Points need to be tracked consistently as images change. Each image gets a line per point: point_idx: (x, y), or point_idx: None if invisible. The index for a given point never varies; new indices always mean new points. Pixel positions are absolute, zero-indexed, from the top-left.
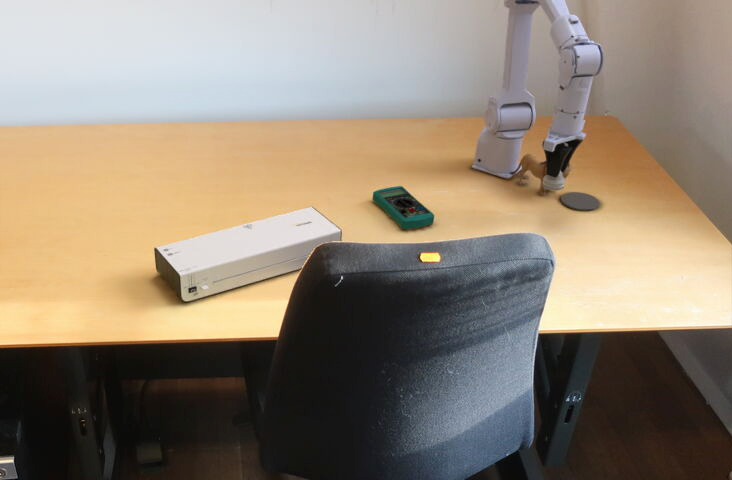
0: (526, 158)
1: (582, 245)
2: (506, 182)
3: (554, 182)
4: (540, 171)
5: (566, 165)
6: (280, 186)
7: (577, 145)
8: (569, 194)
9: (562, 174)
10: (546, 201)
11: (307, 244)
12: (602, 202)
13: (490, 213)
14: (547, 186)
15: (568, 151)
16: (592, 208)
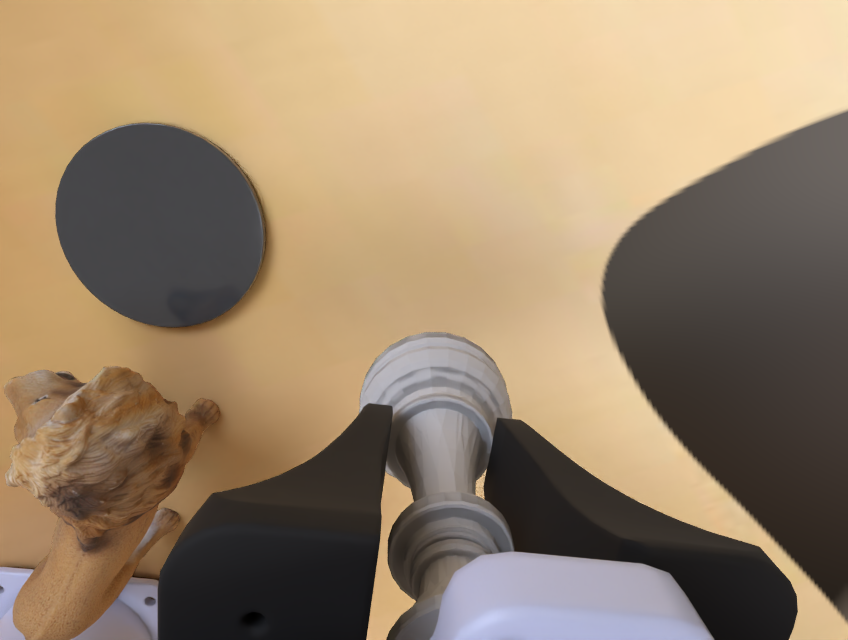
0: (83, 627)
1: (632, 77)
2: None
3: (504, 405)
4: (151, 511)
5: (388, 423)
6: None
7: (362, 504)
8: (129, 300)
9: (438, 397)
10: (264, 373)
11: None
12: (78, 117)
13: None
14: None
15: (752, 551)
16: (208, 144)
